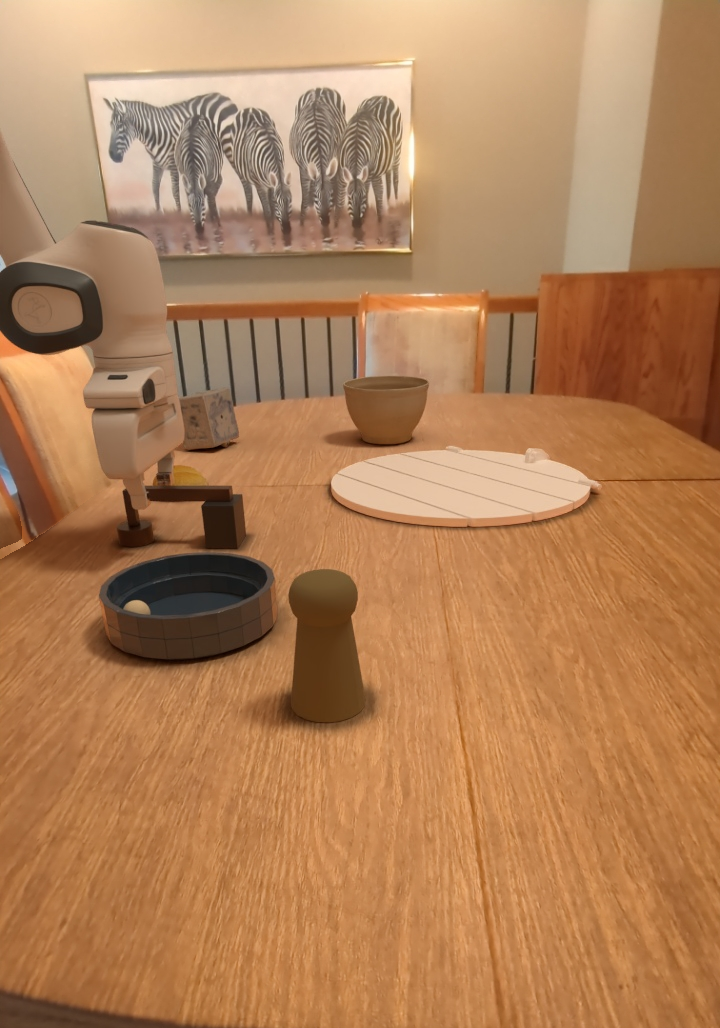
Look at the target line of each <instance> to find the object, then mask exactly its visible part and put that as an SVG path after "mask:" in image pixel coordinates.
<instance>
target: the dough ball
mask: <svg viewBox="0 0 720 1028" xmlns="http://www.w3.org/2000/svg"><path fill="white" fill-rule="evenodd" d="M123 609H124V610H127V611H131V612H135V613H139V614H148V615H150V609H149V607H148V606H147V604H146V603H144V602H142V601H139V600H133V601H130V602H128V603H127V604H126V605H125V606H124V608H123Z"/></svg>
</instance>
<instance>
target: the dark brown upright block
mask: <svg viewBox="0 0 720 1028" xmlns="http://www.w3.org/2000/svg"><path fill="white" fill-rule="evenodd" d="M244 507H245V506H244V498H243V493H233V499H232V500H231V501H230V502H210V501H203V502H202V504H201V506H200V508H201V517H202V525H203V532H204V533H203V534H204V540H205V548H206V549H232V550H233V549H234V550H235V549H237V550H238V549H239V548H240V546H241V544H242V542H243V541H244V540H245V538H246V537H247V528H246V520H245V509H244Z"/></svg>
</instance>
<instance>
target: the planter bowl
mask: <svg viewBox="0 0 720 1028" xmlns="http://www.w3.org/2000/svg"><path fill="white" fill-rule="evenodd" d="M429 386H430V381H429V380H428V379H426V378H423V377H418V376H409V375H373V376H372V375H371V376H363V377H357V378H353V379H348V380H346V381H344V382H343V384H342V387H343V390H344V397H345V398H344V399H345V405H346V409H347V411H348V414H349V417H350V419H351V421H352V423H353V425H354V426H355V427H356V429H357V430H358V431H359V433H360V435H361V438H362V441H363V442H365V443H369V444H374V445H397V444H404V443H407V442H409V441H410V440H412V436H413V435H412V434H413V432H414V430H415V429H416V428H417V426H418V425H419V424H420V421H421V419H422V417H423V415H424V412H425V410H426V405H427V401H428V390H429Z"/></svg>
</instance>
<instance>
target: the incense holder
mask: <svg viewBox="0 0 720 1028" xmlns="http://www.w3.org/2000/svg"><path fill="white" fill-rule="evenodd" d="M179 401H180V406H181V412H182V417H183V423H184V430H185V435H184V442H183V443H182V445H183V447H184V449H185V450H186V451H191V450H199V449H210V448H211V449H212V448H215V447H218V446H221V447H223V448H228V447H229V445H230V442H231V441H233V440H235V439H238V438H240V431H239V427H238V422H237V421H238V420H237V418H236V413H235V408H234V403H233V399H232V394H231V390H230V388H229V387H228V386H227V387H219V388H214V389H209V390H208V389H207V390H203V391H196V392H195V393H194V394H189V395H185V396H180V397H179Z"/></svg>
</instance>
